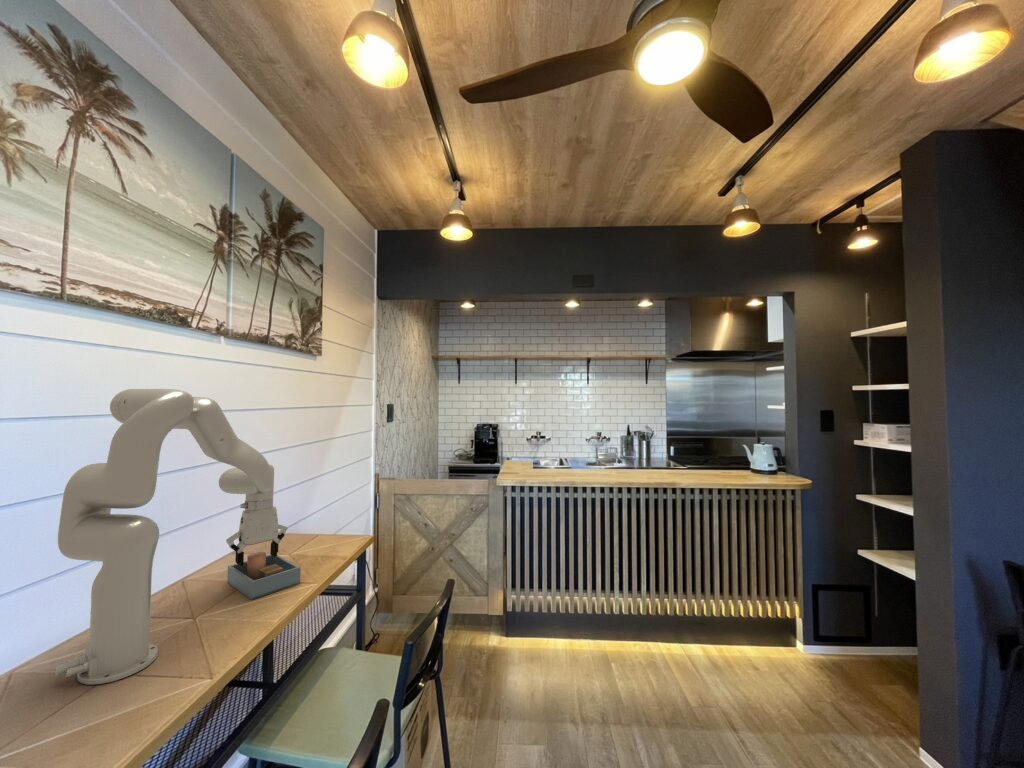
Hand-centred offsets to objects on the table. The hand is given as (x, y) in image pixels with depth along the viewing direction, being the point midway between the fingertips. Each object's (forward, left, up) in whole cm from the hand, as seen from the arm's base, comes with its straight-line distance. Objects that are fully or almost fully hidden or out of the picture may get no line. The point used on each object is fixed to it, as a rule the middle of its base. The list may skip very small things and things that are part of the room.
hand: (257, 560), depth 133 cm
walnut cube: (0, -9, -5) cm, 10 cm away
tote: (0, -4, -6) cm, 7 cm away
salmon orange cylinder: (0, 0, -5) cm, 5 cm away
